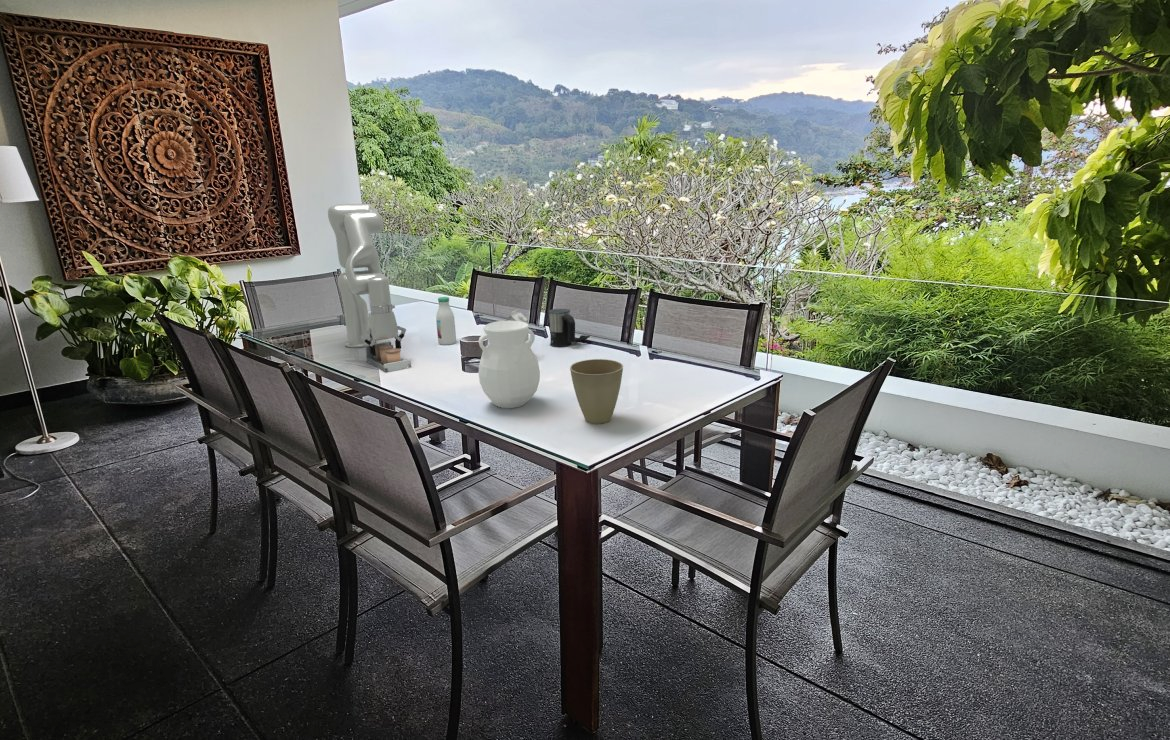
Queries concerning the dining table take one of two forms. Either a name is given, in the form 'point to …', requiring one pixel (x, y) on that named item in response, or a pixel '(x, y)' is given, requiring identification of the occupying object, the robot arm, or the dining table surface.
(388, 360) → the jar
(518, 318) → the milk carton
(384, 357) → the jar
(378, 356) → the pusher plate
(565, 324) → the milk frother
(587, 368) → the plant pot
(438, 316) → the milk bottle
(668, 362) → the dining table surface
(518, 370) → the white vase
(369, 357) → the grey holder stand
